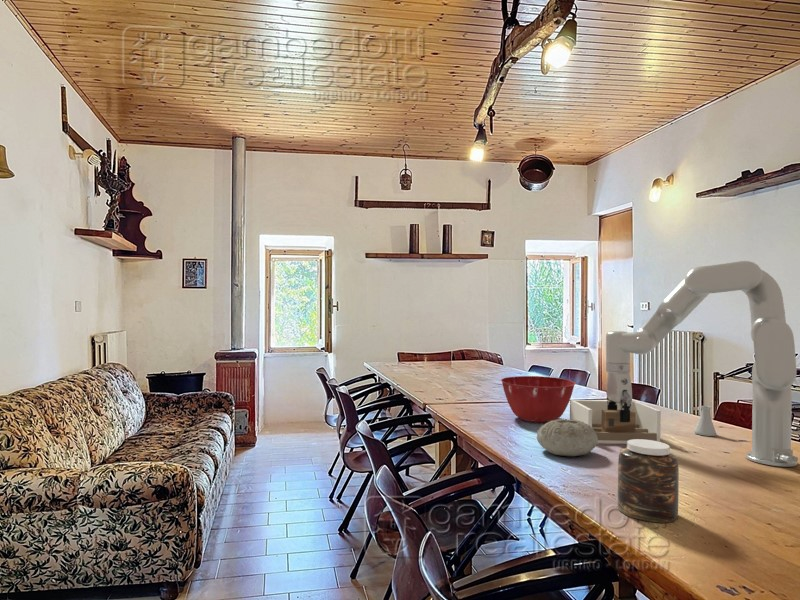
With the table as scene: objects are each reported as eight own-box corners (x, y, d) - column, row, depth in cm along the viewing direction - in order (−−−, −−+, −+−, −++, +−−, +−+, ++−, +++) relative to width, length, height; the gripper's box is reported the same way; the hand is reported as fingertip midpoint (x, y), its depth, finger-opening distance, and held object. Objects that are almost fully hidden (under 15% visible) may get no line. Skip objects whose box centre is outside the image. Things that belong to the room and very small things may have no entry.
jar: (659, 502, 123) (660, 437, 123) (688, 523, 111) (690, 451, 111) (609, 502, 122) (610, 436, 123) (633, 523, 111) (634, 450, 111)
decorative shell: (525, 447, 170) (526, 415, 170) (573, 443, 175) (574, 413, 175) (558, 463, 153) (559, 428, 153) (610, 459, 158) (611, 425, 158)
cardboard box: (635, 439, 178) (636, 412, 178) (605, 439, 178) (606, 412, 178) (630, 436, 182) (630, 410, 182) (601, 436, 181) (601, 409, 182)
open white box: (660, 444, 176) (660, 410, 177) (588, 443, 176) (588, 409, 176) (635, 431, 194) (635, 401, 195) (569, 430, 194) (570, 399, 194)
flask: (710, 432, 195) (711, 405, 195) (721, 437, 188) (721, 408, 188) (690, 431, 196) (690, 404, 196) (699, 436, 189) (700, 408, 189)
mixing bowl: (542, 431, 192) (543, 388, 192) (485, 416, 215) (486, 378, 215) (589, 422, 209) (590, 382, 209) (531, 409, 232) (532, 374, 232)
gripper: (641, 370, 171) (641, 424, 171) (618, 365, 189) (618, 414, 188) (617, 370, 171) (618, 424, 171) (597, 365, 189) (597, 414, 188)
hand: (618, 419), depth 180 cm, fingers open, 9 cm apart
